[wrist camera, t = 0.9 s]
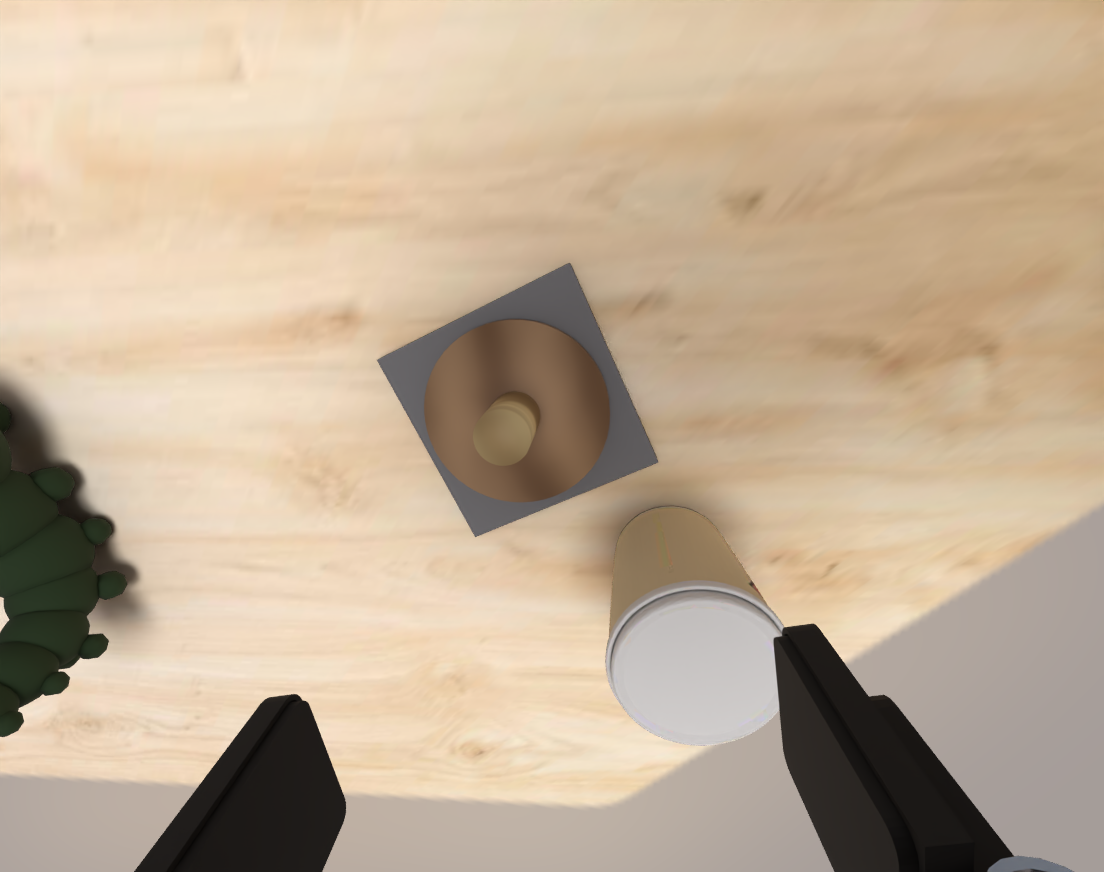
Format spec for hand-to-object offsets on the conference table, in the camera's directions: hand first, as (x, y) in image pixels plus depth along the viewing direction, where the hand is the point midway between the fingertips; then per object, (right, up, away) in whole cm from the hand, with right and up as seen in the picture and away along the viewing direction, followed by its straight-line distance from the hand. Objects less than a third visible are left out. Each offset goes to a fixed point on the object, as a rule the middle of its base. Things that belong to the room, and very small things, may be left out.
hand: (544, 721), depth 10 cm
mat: (-2, +7, +25) cm, 26 cm away
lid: (-2, +7, +24) cm, 25 cm away
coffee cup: (+9, -3, +27) cm, 29 cm away
